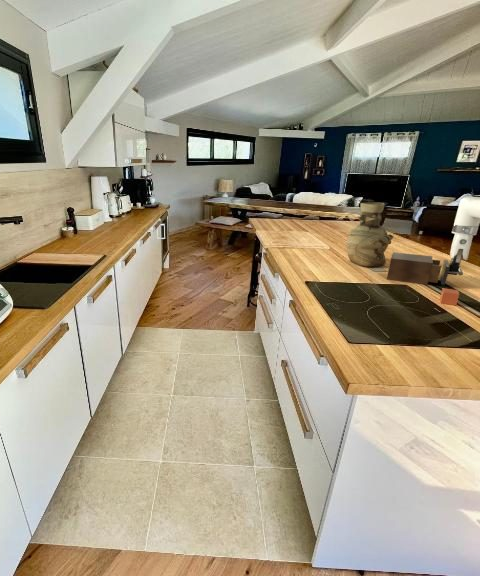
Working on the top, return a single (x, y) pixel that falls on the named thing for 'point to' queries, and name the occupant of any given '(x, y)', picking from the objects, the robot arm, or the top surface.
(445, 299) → the block
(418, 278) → the cabinet
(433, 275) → the drawer
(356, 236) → the ceramic vessel
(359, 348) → the top surface
